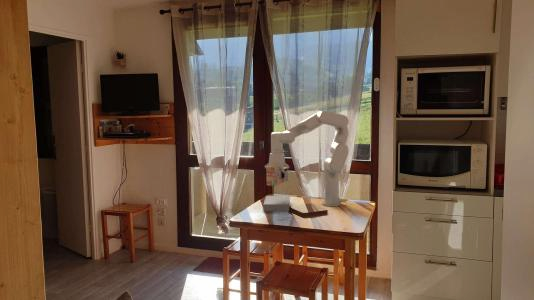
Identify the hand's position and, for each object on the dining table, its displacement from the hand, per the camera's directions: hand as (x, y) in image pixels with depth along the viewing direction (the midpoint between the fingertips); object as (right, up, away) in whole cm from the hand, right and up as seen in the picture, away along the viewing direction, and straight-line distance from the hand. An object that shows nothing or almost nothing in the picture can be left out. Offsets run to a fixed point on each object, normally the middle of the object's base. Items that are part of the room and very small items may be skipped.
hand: (276, 178), depth 279 cm
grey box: (0, -19, +2) cm, 19 cm away
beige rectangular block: (0, -3, +1) cm, 4 cm away
